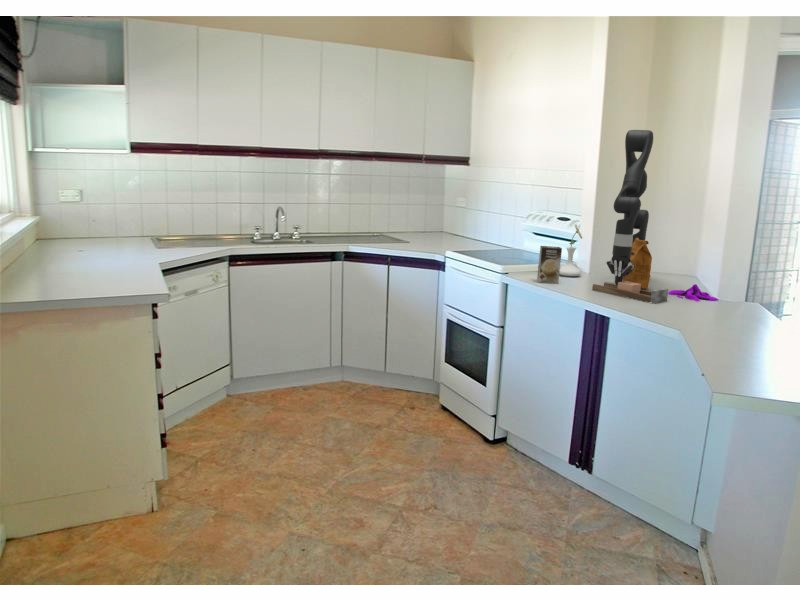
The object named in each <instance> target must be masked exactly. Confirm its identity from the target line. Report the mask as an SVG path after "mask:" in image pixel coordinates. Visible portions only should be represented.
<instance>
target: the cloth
mask: <svg viewBox="0 0 800 600" xmlns="http://www.w3.org/2000/svg"><path fill="white" fill-rule="evenodd" d="M668 294H669V296H676V297H677V298H678V299H686V300H690V301H694V302H701V300H705V301H708V302H715V301H719V299H718V298H717V297H714V296H711V295H710V294H709V293H708V292H706V291H705V292H704V291H702V290H701V289H700V288H699V286H698V284H696V283H694V284H692V286H691V287H690V288H688V289H686V290H681V289H672V290H670V291H668ZM683 297H684V298H683Z"/></svg>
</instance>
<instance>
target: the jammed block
mask: <svg viewBox="0 0 800 600" xmlns="http://www.w3.org/2000/svg"><path fill="white" fill-rule="evenodd" d="M617 289H621V290H626V291H630V292H635V293H640V289H641V284H638V283H633V282H628V281H624V282H623V281H622V282H618V288H617ZM641 290H642V289H641Z"/></svg>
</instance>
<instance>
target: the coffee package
mask: <svg viewBox="0 0 800 600" xmlns="http://www.w3.org/2000/svg"><path fill="white" fill-rule="evenodd" d="M648 245H649V241H648V240H646V239H645V240H639V239H638V238H636V239H635V241H634V242H633V244H632V251H631V256H630V260H631V262H630V263H631V264H632V265H635V268H634V269H633V270H632V271H631V272H630V273H629V274H628V275H627V276H623V281H622V282H624V281H628V282H633V283H638V284H641V290H645V289H649V284H650V280H651V271H652V269H651V268H652V260H653V257H652V255H651V252H650V250H649V247H648ZM626 269H627V267H626Z"/></svg>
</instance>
